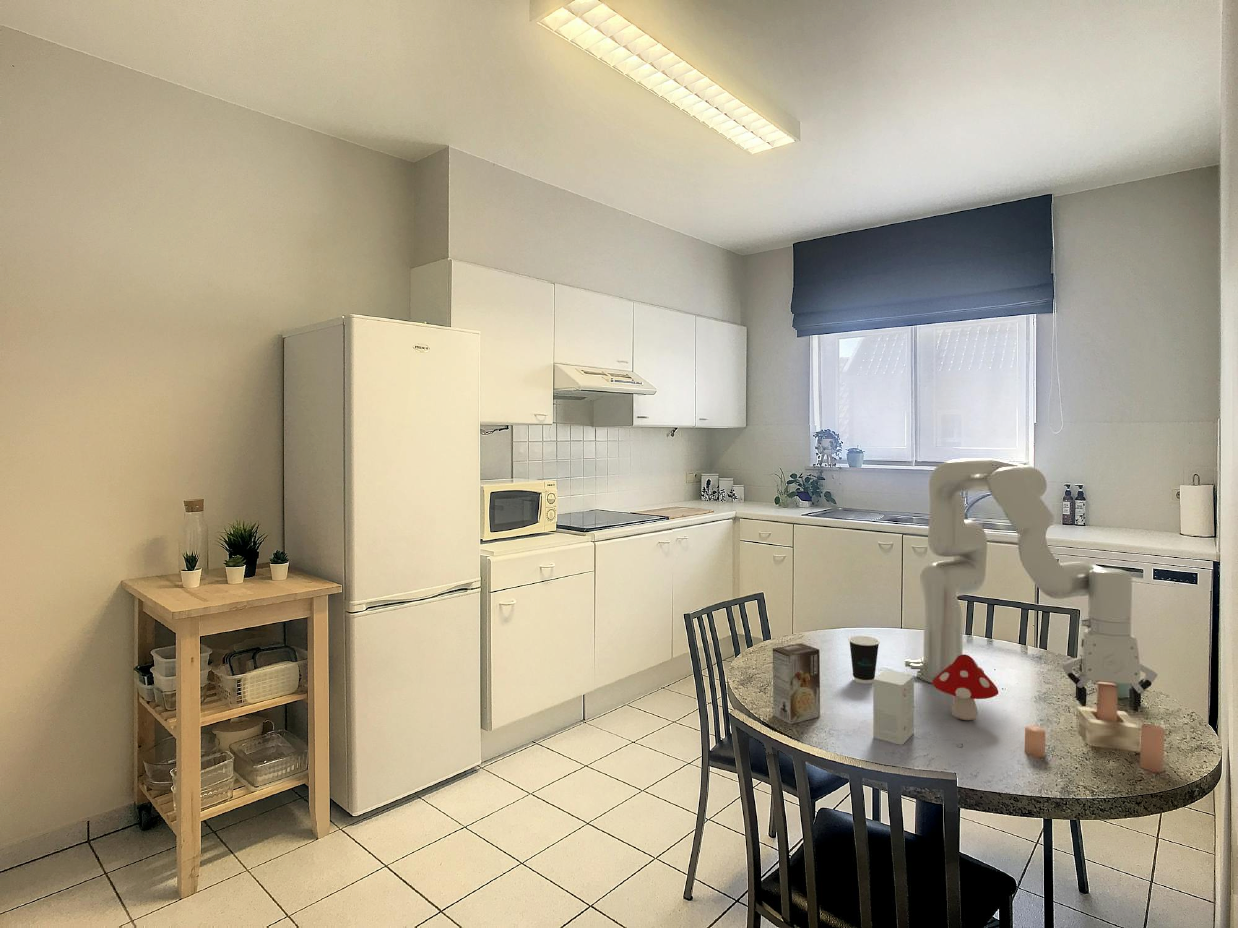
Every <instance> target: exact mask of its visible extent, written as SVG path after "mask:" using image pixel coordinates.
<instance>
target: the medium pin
mask: <svg viewBox="0 0 1238 928" xmlns="http://www.w3.org/2000/svg"><path fill="white" fill-rule="evenodd" d="M1165 730H1166V729H1165V728H1163V727H1162V726H1159V725H1156V724H1150V723H1144V724H1141V727H1140V752H1139V757H1140V758H1139V767H1140V768H1141V769H1143V770H1146V771H1148V772H1152V773H1153V772H1154V773H1163V772H1164V762H1165V761H1164V760H1165V759H1164V758H1165V754H1164V753H1165V735H1166V734H1165V733H1166V732H1165Z"/></svg>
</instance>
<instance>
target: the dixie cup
mask: <svg viewBox="0 0 1238 928" xmlns="http://www.w3.org/2000/svg"><path fill="white" fill-rule="evenodd" d="M848 641H849V648H850V649H849V650H850V658H851V665H852V666H851V667H852V677H853V680H854V682H856V683H859V684H867V685H868V684H873V679H874V678H876V671H877V670H876V668H877V662H878V651H879V644H880V643H881V641H880V640H879V639H878V638H876V637H872V636H867V635H854V636H853V635H852V636H849V638H848Z"/></svg>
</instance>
